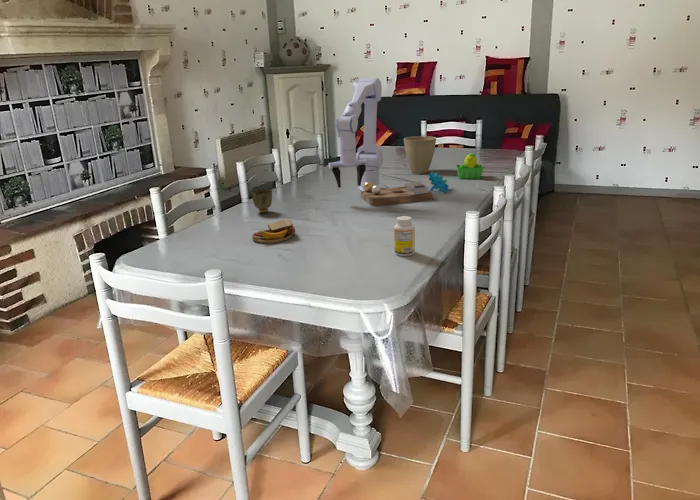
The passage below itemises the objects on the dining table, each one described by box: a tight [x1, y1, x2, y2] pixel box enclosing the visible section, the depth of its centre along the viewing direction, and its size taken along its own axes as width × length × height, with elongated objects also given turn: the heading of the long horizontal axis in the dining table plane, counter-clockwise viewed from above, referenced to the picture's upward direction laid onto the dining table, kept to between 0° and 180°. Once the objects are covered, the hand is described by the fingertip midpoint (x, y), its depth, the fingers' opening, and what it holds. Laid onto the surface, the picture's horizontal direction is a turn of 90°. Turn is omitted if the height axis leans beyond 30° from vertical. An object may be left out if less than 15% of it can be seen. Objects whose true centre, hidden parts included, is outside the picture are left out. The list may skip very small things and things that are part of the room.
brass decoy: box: [363, 181, 374, 192], centre depth 217 cm, size 4×4×4 cm
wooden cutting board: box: [360, 186, 434, 207], centre depth 215 cm, size 14×24×2 cm, turn 105°
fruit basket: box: [455, 152, 485, 180], centre depth 245 cm, size 11×9×11 cm
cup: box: [251, 188, 273, 214], centre depth 203 cm, size 8×7×8 cm
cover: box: [404, 181, 429, 194], centre depth 214 cm, size 10×6×3 cm, turn 15°
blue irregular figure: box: [428, 171, 450, 194], centre depth 224 cm, size 11×6×10 cm
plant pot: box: [403, 135, 437, 175], centre depth 260 cm, size 15×15×16 cm
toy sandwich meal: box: [251, 218, 296, 244], centre depth 174 cm, size 12×14×5 cm
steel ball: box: [372, 185, 382, 194], centre depth 212 cm, size 4×4×4 cm
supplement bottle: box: [393, 215, 416, 257], centre depth 154 cm, size 6×6×10 cm
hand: (349, 186), depth 209 cm, fingers open, 7 cm apart
